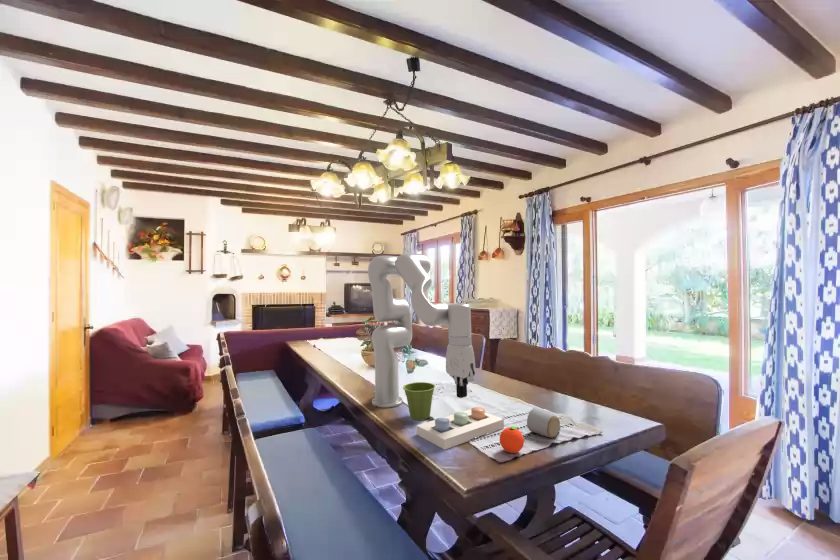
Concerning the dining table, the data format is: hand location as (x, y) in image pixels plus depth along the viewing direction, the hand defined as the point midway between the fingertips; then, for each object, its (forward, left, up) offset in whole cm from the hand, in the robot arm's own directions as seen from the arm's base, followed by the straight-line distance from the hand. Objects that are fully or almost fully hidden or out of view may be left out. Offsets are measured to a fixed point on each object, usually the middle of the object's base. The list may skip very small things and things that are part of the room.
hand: (461, 396), depth 126 cm
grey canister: (+17, +20, -12) cm, 29 cm away
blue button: (-1, -8, -9) cm, 12 cm away
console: (-1, 0, -12) cm, 12 cm away
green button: (-1, 0, -9) cm, 9 cm away
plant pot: (-20, -3, -12) cm, 23 cm away
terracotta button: (-1, +8, -9) cm, 12 cm away
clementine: (+19, +2, -12) cm, 23 cm away
